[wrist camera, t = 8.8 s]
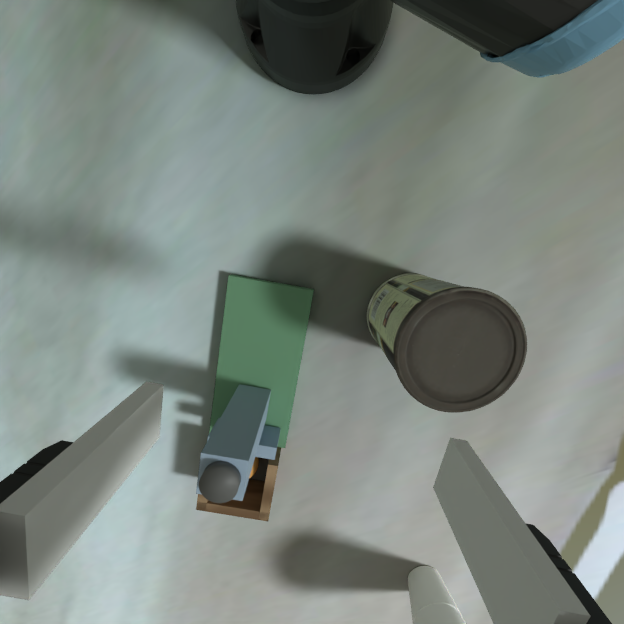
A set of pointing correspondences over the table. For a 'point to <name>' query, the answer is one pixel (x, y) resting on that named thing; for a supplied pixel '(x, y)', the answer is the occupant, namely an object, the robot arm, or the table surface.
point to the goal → (248, 497)
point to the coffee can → (447, 340)
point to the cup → (431, 598)
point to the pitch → (262, 345)
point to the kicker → (236, 445)
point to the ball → (254, 467)
